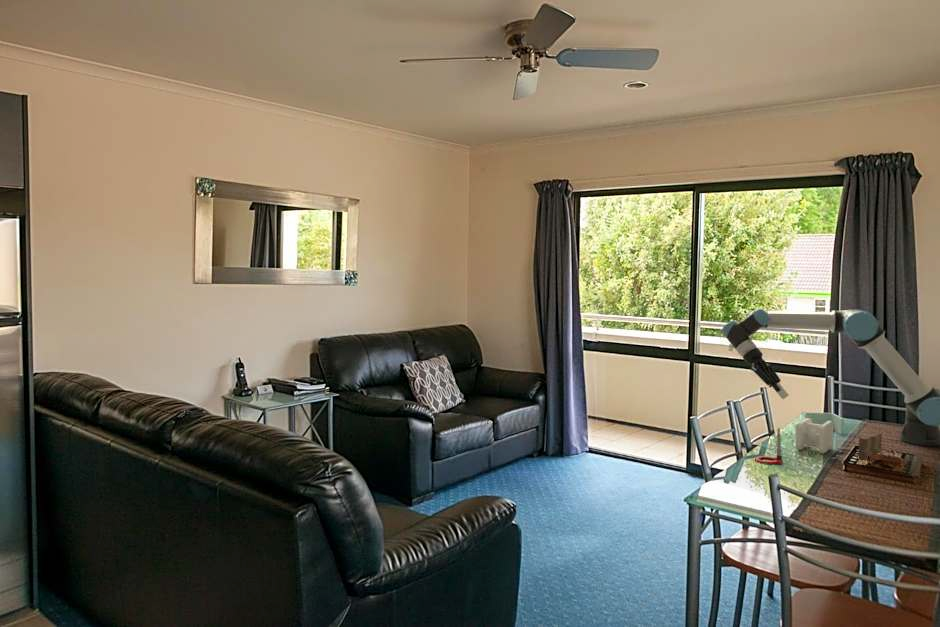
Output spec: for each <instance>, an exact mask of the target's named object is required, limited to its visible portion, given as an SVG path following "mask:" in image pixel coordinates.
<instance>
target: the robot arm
mask: <svg viewBox="0 0 940 627" xmlns="http://www.w3.org/2000/svg"><path fill="white" fill-rule="evenodd" d="M763 328H764V329H788V330H792V329H793V330H814V331H817V330H818V331H830V332H831V333H835V334H843V335H846V336H848V337H849V338H850V340H852V342H853V343H854V344H855V345H856V347H857V348H858V349H862V350H865V351H866V352H867V354H868V355H869V356H870V357H871V358H872V359H873V361H875V363H876V364H877V365H878V367H879V368H880V369H881V370H882V371H883V372H884V373H885V375H886V376H887V377H888V378H889V379H890V381H891V382H892V383H893V384H894V385H895V387H897V389H898V390H899V391H900V392H901V393H902V394H903V396H904V400H903V401H904V403H905V422H904V423H903V426H902V427H901V428H902V429H901V430H900V433H899V440H900V441H901V442H904V443H908V444H913V445H916V446H926V447H940V389H939V388H934V386H933V385H931V384H925V382H924V381H923V379H921V377H920V376H919V375H918V374H917V373H916V372H915V370H914V369H912V367H911V366H910V365H909V363H908V362H906V360H905V359H904V358H903V356H902V355H900V353H899V352H898V351H897V350H896V349H895V347H894V346H893V345H892V344H891V343H890V342H889V341H888V339H887V338H886V337H885V333H886V330H885V329H884V328H883V327H882V326H881V325H880V323H879V322H878V321H877V318H876V317H875V316H874V315H873V314H872V313H870V312H868V311H866V310H862V309H858V308H857V309H855V308H854V309H853V308H852V309H847V310H844V309H843V310H831V312H814V311H813V312H812V311H811V312H809V311H782V310H781V311H778V310H777V311H776V310H774V311H773V310H771V311H770V310H769V311H767V310H764V309H763V308H762V307H758V308H757V309H755V310H753V309H752V310H750V311H748V312H747V314H746V315H745V317H744V318H743V319H742V320H740V321H736V320H731V321H729V322H727V323H726V324H725V325H723V327H722V330H721V331H722V334H723V335H724V336H725V338H726V339H727V340H728V342H729V343H730V345H732V347H733V348H734V349H735V351H737V353H738V355H739V356H740V357H742V359H743V360H744V362H745V363H746V364H747V365H751V367H750V370H751V371H752V372H753V373H755V375H756V376H757V377H759V379H761V381H762V382H763V383H765V384H766V386H768V387H769V388H773V389H774V391H775V392H776V394H778V396H779V397H780V398H781V400H784V399H786V398H787V397H788V396H790V395H789V393H788V392H787V390H786V389H785V388H784V387H783V386H782V385H781V383H780V382H781V381H782V380H781V379H780V377H779V376H778V374H777V372H776V370H775V368H773V365H772V363H771V362H768V363H767V362H766V360H765V359H764V358H763V356H764V355H763V352H762V351H761V350H760V349H759V348H758V347H757V345H756V344H755V342H753V341H754V340H753V341H752V339H751V338H750V336H752V335H753V334H755V333H756V332H758V331H759V330H760V329H763Z"/></svg>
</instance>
